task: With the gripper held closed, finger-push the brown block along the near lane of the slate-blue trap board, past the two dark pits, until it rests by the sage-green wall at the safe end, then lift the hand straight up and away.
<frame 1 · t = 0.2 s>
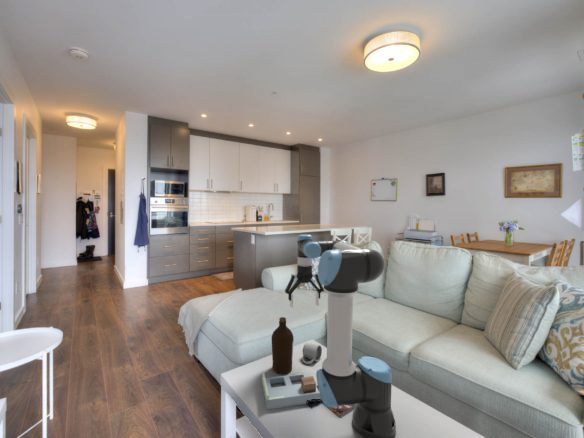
hand: (304, 305, 146), 28 cm above the table, fingers open, 13 cm apart
ceramic mug: (311, 360, 146), on the table
trap board: (290, 392, 120), on the table
olive oil: (282, 369, 137), on the table
brown block: (308, 389, 118), point 2 cm above the table, touching trap board
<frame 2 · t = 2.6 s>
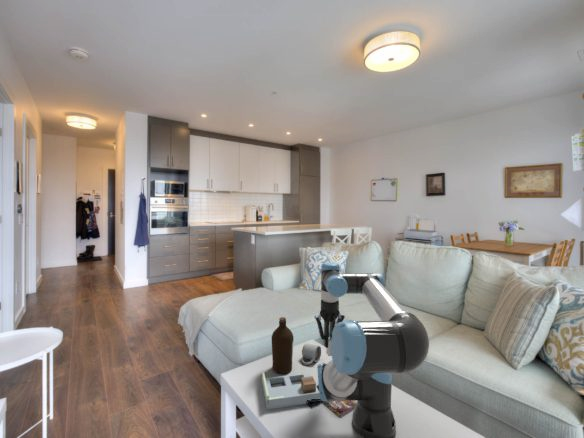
hand: (329, 354, 120), 17 cm above the table, fingers closed
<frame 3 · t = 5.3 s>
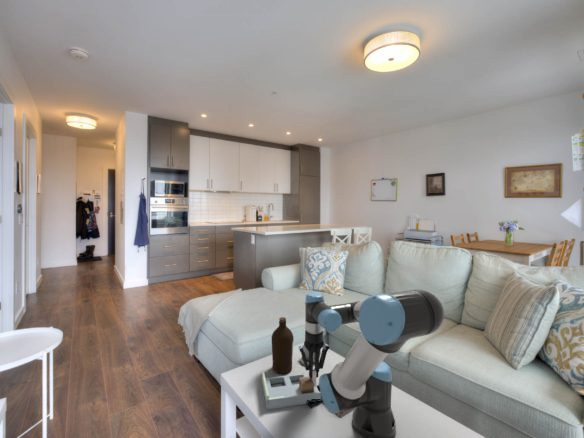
hand: (313, 384, 119), 4 cm above the table, fingers closed
brown block: (306, 389, 118), point 3 cm above the table, touching gripper
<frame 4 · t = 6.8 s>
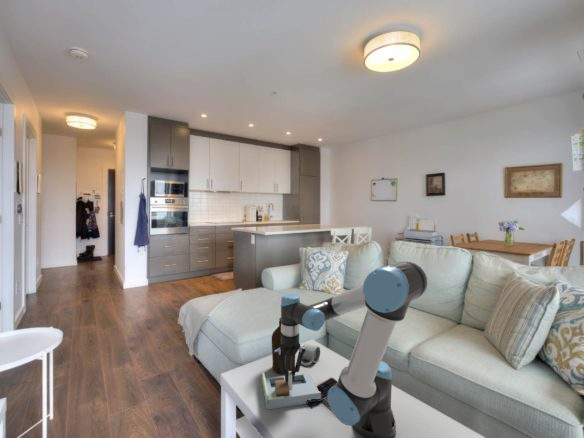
hand: (289, 388, 117), 4 cm above the table, fingers closed
brown block: (282, 393, 116), point 3 cm above the table, touching gripper
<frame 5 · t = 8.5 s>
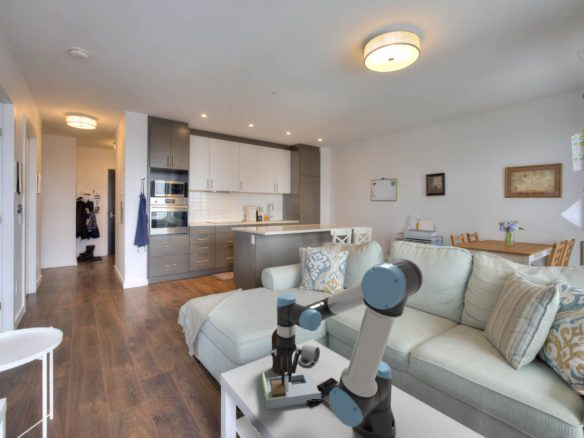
hand: (285, 389, 116), 4 cm above the table, fingers closed
brown block: (277, 393, 115), point 2 cm above the table, touching trap board
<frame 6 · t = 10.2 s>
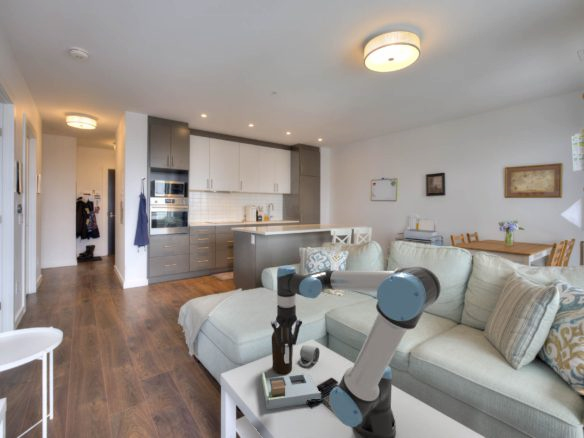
hand: (286, 361, 115), 16 cm above the table, fingers closed
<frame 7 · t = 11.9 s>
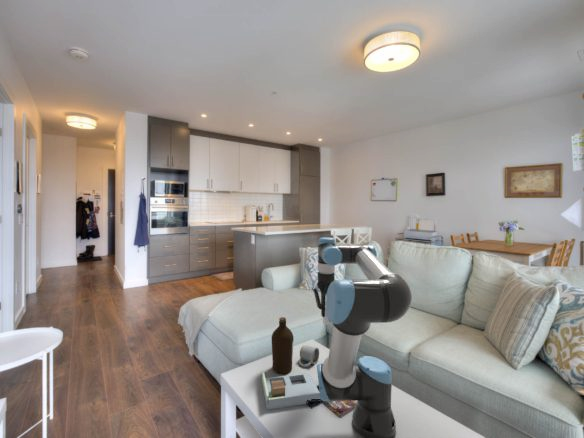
hand: (325, 323, 128), 26 cm above the table, fingers closed
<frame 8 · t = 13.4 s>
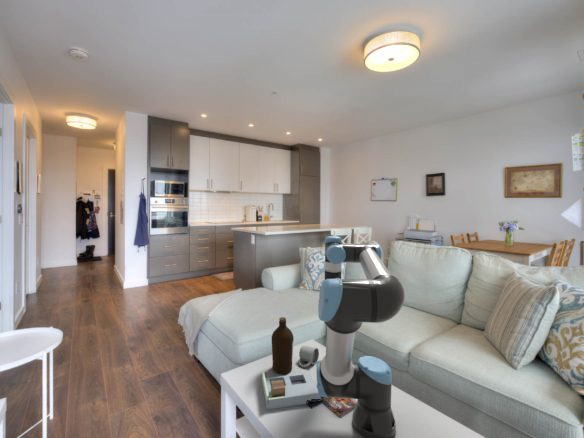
hand: (332, 321, 130), 26 cm above the table, fingers closed
at the end: brown block inside the target area on the trap board (1.2 cm from its centre), point 2.5 cm above the trap board's base; brown block tilted 0° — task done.
